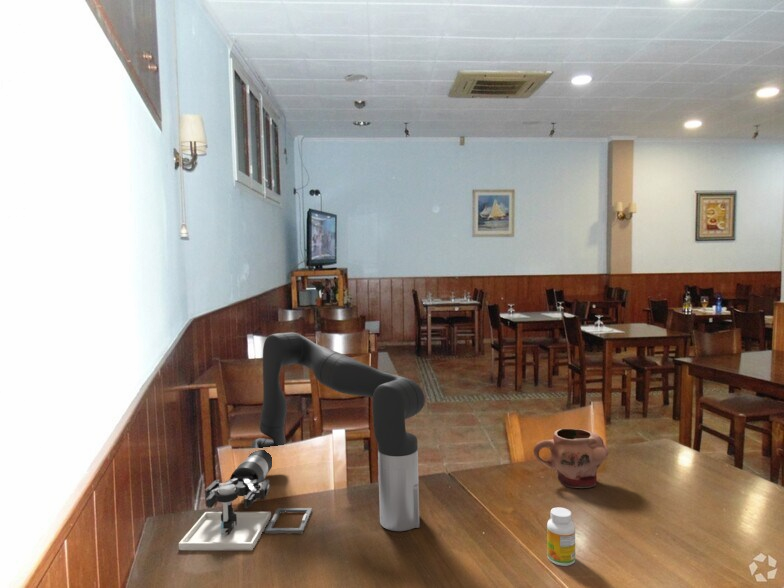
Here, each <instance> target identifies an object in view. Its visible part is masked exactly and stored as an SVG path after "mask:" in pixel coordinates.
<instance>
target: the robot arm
mask: <svg viewBox="0 0 784 588" xmlns="http://www.w3.org/2000/svg"><path fill="white" fill-rule="evenodd" d="M291 365H300V366H304V367H306V368H308V369H311V370H312V373H313V375H314V377H315V378H316V380H317V381H318V382H319V383H320V384H322V385H323V386H325V387H327V388H329V389H331V390H333V391H335V392H338V393H341V394H346V395H351V396H358V397H366V398H372V399H371V400H372V402H371V403H372V405H371V406H372V408H371V409H372V420H373V421H372V422H373V434H374V438H375V441H376V442H377V443H376V444H377V457H378V459H377V462H378V463H377V465H378V468H377V469H378V497H379V501H378V502H379V524H380V526H381V527H382V528H385V529H386V530H389V531H393V532H405V531H410V530H413V529H416V528H417V529H418V528H420V497H419V496H420V493H419V489H420V487H419V458H418V457H419V456H418V454H419V453H418V452H419V451H418V444H419V443H418V438H417V436H416V435H415V434H414V433H411V432H408V431H407V430H406V421H405V420H407V419H411V418H412V417H414V416H415V415H417V414H418V413H420V412H421V411H422V409H424V406H425V401H426V397H425V393H424V391H423V389H422V388H421V387H420V385H419V383H417V382H415V381H414V380H413V379H410V378H407V377H404V376H401V375H397V374H393V373H389V372H386V371H383V370H380V369H378V368H375V367H373V366H371V365H369V364H367V363H364V362H362V361H359V360H356V359H355V358H353V357H350V356H348V355H346V354H343V353H340V352H337V351H335V350H332V349H330V348H327V347H325V346H323V345H319V344H318V343H316V342H314V341H312V340H311V339H309V338H307V337H305V336H304V335H302V334H300V333H298V332H291V331H290V332H280V333H272V334H269V335H268V336H267V337H266V339H265V341H264V343H263V348H262V383H263V384H262V387H263V388H262V389H263V390H262V391H263V395H262V397H263V398H262V408H261V413H260V414H261V415H260V422H259V431H260V432H261V434H263V435H265V436H267V437H269V438H270V439H269V438H264V437H258V438H255V439H254V440H253V442H252V443H251V444H250V448H263V447H270V446H278V445H284V444H286V442H287V441H286V438H285V437H286V436H285V435H286V434H285V426H286V417H287V413H288V404H287V399H286V397H285V393H284V392H283V389H282V387H281V383H280V374H281V368H282V367H284V366H291ZM286 445H287V444H286ZM247 457H248V458H247ZM247 457H246V458H245V459H244V460H243V461H242V462H241V463H240V464H239V465H238V466H237V467H236V468H235V469H234V471H233V472H232V473H231V475H230V477H229V479H228V480H226V481H225V482H220V479H215V480H214V481H212V482H211V483H210V484H209V486H208V487H206V488H205V490H204V491H205V501H206V502H205V504H206V506H207V508H208V509H211V508H213V507H214V505H215V504H216V503H217V502H218V501H216V496H215V491H216V490H218V489H219V487H220V486H221V485H224V484H234V485H235V487H237V488H239V493H238V497H244V499H243V503H244V504H243V506H244V509H245V508H246V509H248V508H249V507H250V506H252V505H253V504H254V502H256V501H257V500H258V499H259V500H260V501H264V500H265V499H266V498H267V495H268V494H269V491H270V479H266V478H267V475H268V474H269V472H270V471H271V470H272V467H273V466H272V457H271V455H270V454H269V453H267V452H266V451H265V450H258V451H255V452H253V453H251V454H250V453H249V455H248V456H247Z"/></svg>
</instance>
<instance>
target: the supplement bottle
mask: <svg viewBox="0 0 784 588" xmlns="http://www.w3.org/2000/svg"><path fill="white" fill-rule="evenodd" d="M546 549H547V550H546V555H547V558H548V560H549V562H551V563H553V564H555V565H557V566H563V567H567V566H568V567H569V566H571V565H573V564H574V563H575V562H576V526H575V524H574V523H573V521H572V511H570V509H567V508H565V507H560V506H559V507H558V506H557V507H553V508H551V510H550V518H549V519H548V521H547V524H546Z"/></svg>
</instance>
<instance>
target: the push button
mask: <svg viewBox="0 0 784 588" xmlns="http://www.w3.org/2000/svg"><path fill="white" fill-rule="evenodd" d="M238 493H239V488H237V487H235V485H234V484H224V485H221V486H220V487H219V489H218V490H216V491H215V496H216V501H217V502H218V503H221V504H222V511H221V512H222V514H221V521H222V523H221V534H222V536H221V537H225V536H226V534H230V532H231V531H232V529H233V527H234V530H235V528H236V525H237V517H236V514H235V512H236V511H234V507H233V502H234V501H235V500H237V498H238V497H239V496H238ZM223 535H224V536H223Z"/></svg>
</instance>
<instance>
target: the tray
mask: <svg viewBox="0 0 784 588" xmlns="http://www.w3.org/2000/svg"><path fill="white" fill-rule="evenodd" d="M234 512H235V514H236V517H237V525H236V528H235V530H234V527H233V529H232V531H231V532H230V534H226V536H225V537H221V536H222V534H221V523H222V521H221V514H222V511H205V512H204V513H203V514H202V515H201V517H200V518H198V520H197V521H196V522H195V523H194V525H193V526H192V527H191V529H190V530H188V532H186V534H185V535H184V536H183V537H182V539H181V540H180V541H179V542H178V551H254V549H253V548H255V546H257V544H258V542H257V541H259V540H260V538H261V537H262V535H261V534H263V533H262V532H265V529H266V528H265V527H267V526H268V524H269V522H270V521H269V520H271V519H272V512H271V511H234ZM270 518H271V519H270ZM266 525H267V526H266ZM223 536H224V535H223ZM258 539H259V540H258Z"/></svg>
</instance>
